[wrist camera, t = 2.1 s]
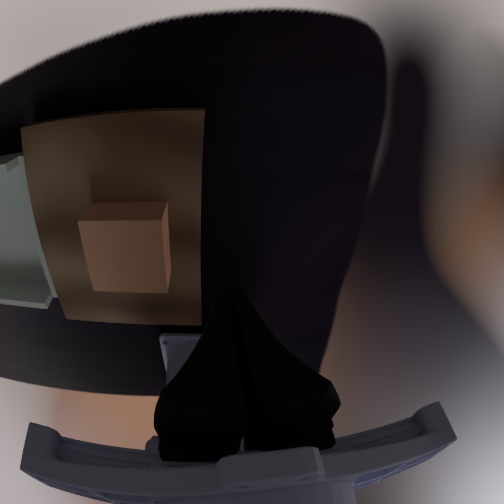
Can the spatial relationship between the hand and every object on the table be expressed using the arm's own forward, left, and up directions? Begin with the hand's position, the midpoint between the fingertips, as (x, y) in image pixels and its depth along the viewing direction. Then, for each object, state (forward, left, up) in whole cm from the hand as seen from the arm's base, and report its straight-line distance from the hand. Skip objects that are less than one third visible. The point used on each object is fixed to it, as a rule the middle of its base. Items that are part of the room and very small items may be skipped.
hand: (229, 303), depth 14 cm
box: (0, +19, -8) cm, 21 cm away
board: (0, +8, -8) cm, 11 cm away
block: (0, +6, -6) cm, 9 cm away
